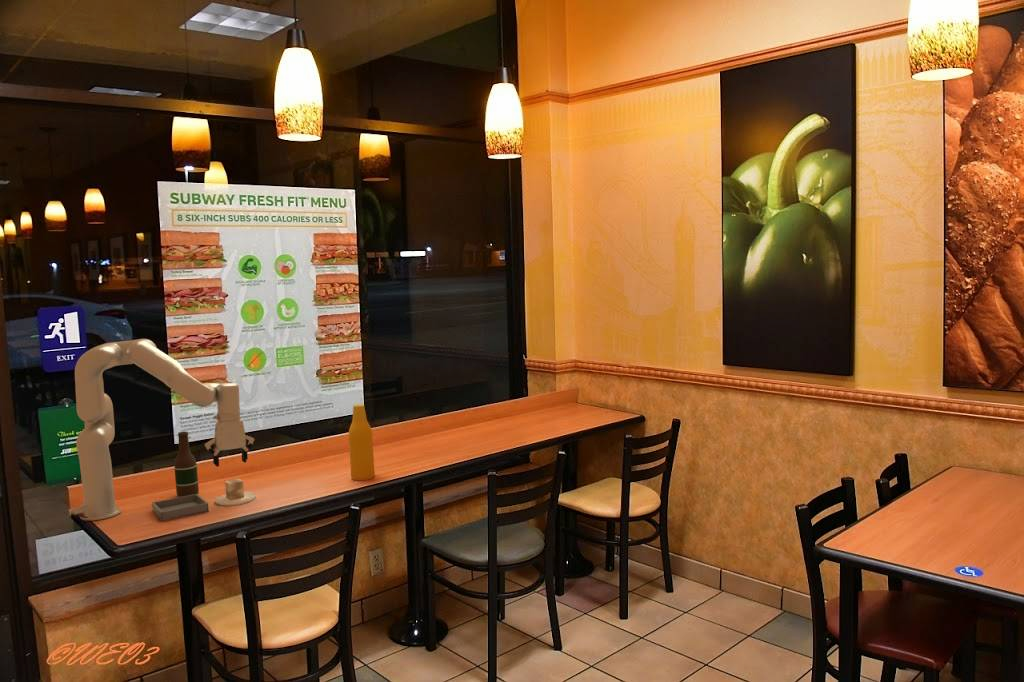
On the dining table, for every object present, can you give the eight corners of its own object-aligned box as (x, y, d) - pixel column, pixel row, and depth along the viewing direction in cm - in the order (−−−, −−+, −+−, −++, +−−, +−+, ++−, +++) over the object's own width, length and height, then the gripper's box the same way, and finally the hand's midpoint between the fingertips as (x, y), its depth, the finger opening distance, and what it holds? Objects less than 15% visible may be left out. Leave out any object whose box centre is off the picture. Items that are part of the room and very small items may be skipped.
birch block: (230, 500, 278) (228, 484, 277) (226, 497, 282) (225, 481, 281) (244, 497, 281) (243, 481, 280) (240, 494, 285) (239, 478, 284)
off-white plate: (221, 508, 272) (220, 505, 272) (210, 499, 283) (210, 496, 283) (260, 500, 280) (260, 497, 280) (249, 491, 291) (249, 489, 291)
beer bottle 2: (369, 481, 300) (365, 407, 297) (347, 480, 301) (342, 407, 299) (378, 474, 309) (374, 403, 306) (356, 474, 310) (352, 403, 308)
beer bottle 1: (175, 498, 286) (170, 435, 284) (178, 493, 293) (173, 431, 291) (197, 496, 288) (192, 433, 286) (200, 490, 296) (195, 429, 293)
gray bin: (161, 521, 260) (161, 512, 260) (152, 510, 272) (151, 502, 272) (208, 511, 269) (207, 503, 268) (197, 501, 281) (197, 493, 281)
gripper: (206, 421, 270) (208, 469, 272) (256, 416, 280) (257, 462, 282) (201, 418, 277) (203, 465, 278) (250, 413, 287) (251, 458, 288)
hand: (230, 463), depth 280 cm, fingers open, 9 cm apart
